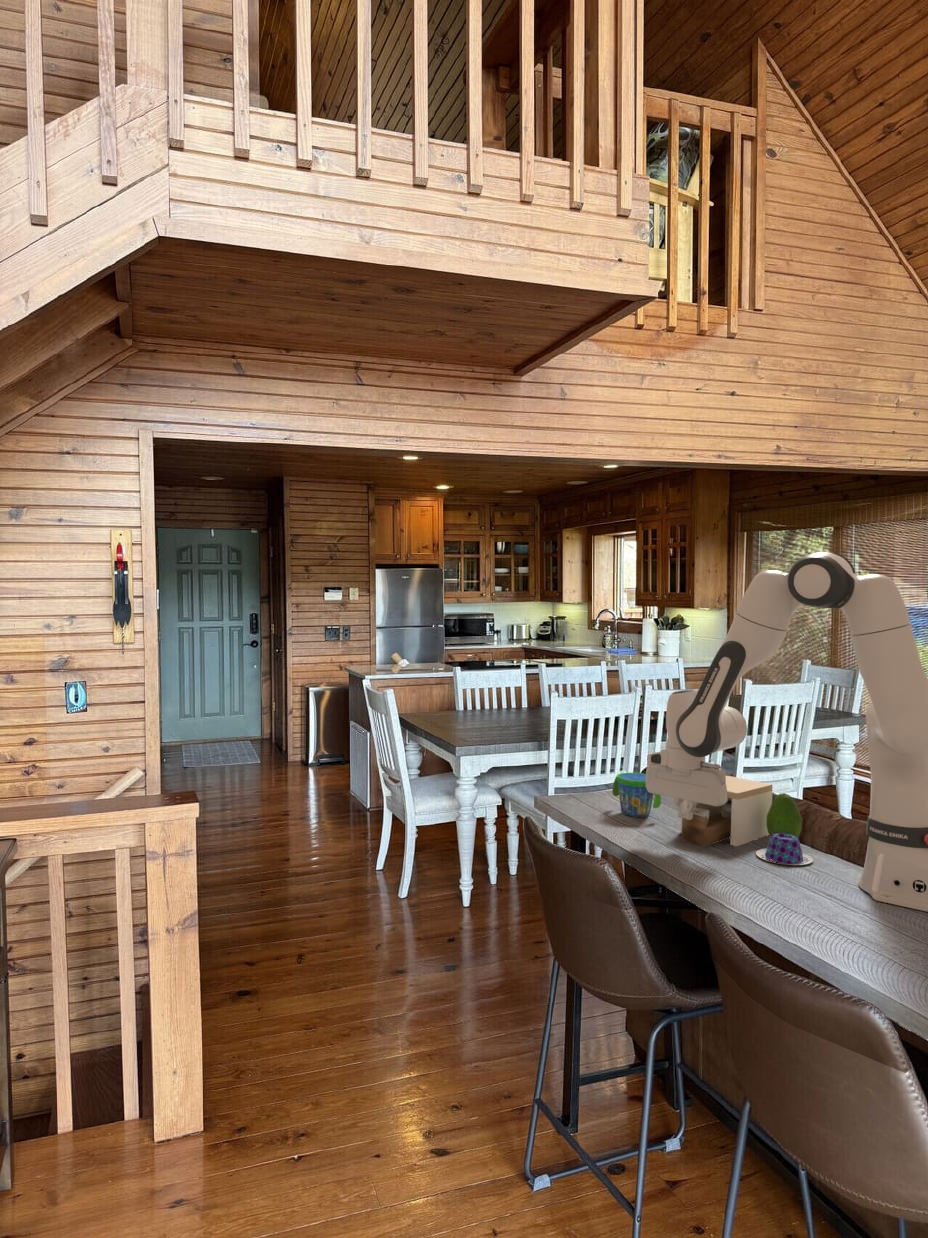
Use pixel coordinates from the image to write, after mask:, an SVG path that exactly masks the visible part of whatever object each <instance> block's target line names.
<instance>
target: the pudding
mask: <svg viewBox="0 0 928 1238" xmlns="http://www.w3.org/2000/svg"><path fill="white" fill-rule="evenodd" d="M755 855H756V856H757V857H758V858H760V859H761V860H765V861H767V862H771V863H774V864H779V865H783V864H784V865H785V866H787V865H788V866H804V865H809V864H811V863H813V861H814V859H813V858H812V856H810V855H808V854H806V853H804V852H803V851H802V846H801V842H800V840H799V838H798V837H795V836H793V835H788V834H780V833H777V834H773V835H771V836H770V837H769V840H768V843H767V847H766V848H762V849H758V850H757V851H755ZM761 855H764V856H765V855H766V856H765V858H767V859H772V860H773V862H772V860H770V861H769V860H766V859H765V858H762V856H761ZM803 857H806V858H808V860H809V861H808V862H806V863H804V864H801V862H802V863H803V862H804V861H803V860H804V859H803ZM774 861H775V862H774ZM776 862H778V863H776ZM785 863H786V864H785ZM796 863H800V864H796Z"/></svg>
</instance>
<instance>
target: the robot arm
mask: <svg viewBox="0 0 928 1238" xmlns="http://www.w3.org/2000/svg"><path fill="white" fill-rule="evenodd" d="M803 605H804V606H806V607H807V606H808V607H809V608H810V607H811V608H816V609H819V608H820V609H821V608H823V609H834V610H841V611H842V612H843V614H844V616H845V619H846V622H847V626H848V630H849V634H850V638H851V641H852V642H851V643H852V647H853V650H854V655H855V659H856V662H857V667H858V670H859V674H860V676H861V678H862V680H863V682H864V684H865V687H866V689H867V692H868V695H869V697H870V700H871V702H870V703H869V705H868V706H867V709H866V712H865V722H866V723H865V724H866V733H867V734H866V735H867V736H866V737H867V749H868V761H869V769H870V804H869V815H868V816H867V823H866V829H865V831H866V835H865V836H866V843H867V849H866V854H865V855H866V856H865V861H864V865H863V869H862V871H861V872H862V873H861V876H860V879H859V881H858V887H859V888H860V889H862V890H863V891H864V892H867V893H868V894H869V895H870V896H871V897H872V899H873V900H875V901H878V902H881V903H882V902H883V903H886V904H887V903H888V904H891V905H895V906H900V907H905V908H909V909H914V910H919V911H923V912H927V913H928V676H927V674H926V672H925V670H924V667H923V664H922V661H921V658H920V654H919V650H918V647H917V643H916V639H915V635H914V631H913V628H912V623H911V620H910V619H911V618H910V617H909V613H908V609H907V607H906V604H905V601H904V598H903V597H902V595H901V592H900V589H899V588H898V586H897V584H896V583H895V581H894V580H893V579H892V578H890V576H886V575H885V574H877V573H871V574H865V575H857V574H856V571H855V568H854V566H853V564H852V563H851V561H850V560H849V559H848V558H846V557H844V556H843V555H841V554H839V553H835V552H828V551H819V552H818V551H817V552H812V553H810V554H807V555H804V556H802V557H800V558H799V559H798V560H796V561H795V562H794V563H793V564H792V566H791V567H790V569H789V572H783V571H781V570H777V569H775V570H774V569H766V570H763V571H760V572H758V573H757V574H756V575H755V576H754V577H753V579H752V580H751V582H750V583H749V586H748V587H747V589H746V591H745V593H744V594H743V596H742V598H741V601H740V603H739V605H738V608H737V610H736V613H735V616H734V618H733V620H732V622H731V625H730V628H729V630H728V632H727V634H726V637H725V639H724V640H723V642H722V644H721V646H720V647H719V649H718V651H717V652H716V654H715V655H714V658H713V659H712V662H711V664H710V666H709V668H708V669H707V672H706V674H705V676H704V678H703V680H702V682H701V684H700V686H699V688H694V689H693V688H692V689H685V690H677V691H674V692H672V693H671V694H670V695H668V698H667V699H668V700H667V703H666V712H665V715H666V716H665V728H666V731H667V737H666V738H667V739H666V743H665V749H663V750H660V751H657V752H652V753H649V754H648V755H647V762H648V763H649V764H648V765H647V767H646V771H645V774H646V788H647V790H648V792H649V793H654V794H653V795H655V794H659V795H660V796H665V797H669V798H673V804H674V806H675V808H676V810H677V818H679V819H682V818H683V819H687V820H691V819H692V818H693V811H694V809H695V808H696V806H697V803H702V804H707V805H712V806H722V805H724V804H725V803H726V802H727V787H726V776H727V773H726V770H725V769H724V767H722V766H721V764H718V763H711V762H707V761H706V757H707V756H709V755H713V754H714V753H716V752H721V751H725V750H728V749H732V748H734V747H736V746H739V745H740V744H741V743H743V741H744V740H745V739H746V736H747V733H748V732H747V731H748V730H747V729H748V728H747V722H746V718H745V717H744V715H743V714H742V712H741V711H740V710H738V708H735V707H732V706H729V705H727V704H728V701H729V699H730V697H731V696H732V693H733V690H734V688H735V687H736V685H737V683H738V682H739V680H741V679H742V677H743V676H744V675H746V674H747V673H748V672H749V671H752V670H753V668H756V667H757V666H759V665H761V664H762V663H765V662H767V661H768V660H770V659H771V658H772V657H774V656H775V654H776V653H777V652H778V650H779V648H780V647H781V645H782V644H783V642H784V640H785V638H786V635H787V633H788V630H789V628H790V624H791V622H792V619H793V617H794V615H795V613H796V612H797V610H798V609H799V608H800V607H801V606H803ZM684 800H687V805H689V807H688V809H687V810H685V809H684V806H683V804H682V802H684Z"/></svg>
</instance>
